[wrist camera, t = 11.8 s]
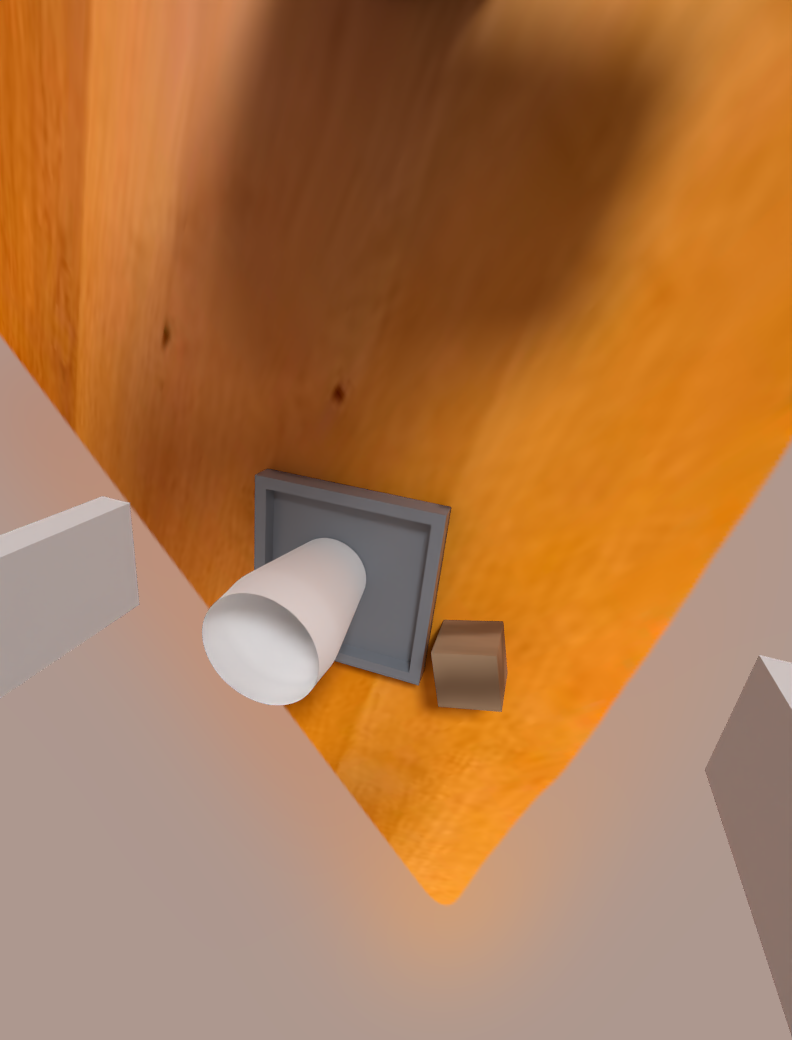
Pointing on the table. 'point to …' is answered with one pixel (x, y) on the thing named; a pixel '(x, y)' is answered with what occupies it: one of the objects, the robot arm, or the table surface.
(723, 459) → the table surface
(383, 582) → the tray
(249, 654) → the cup
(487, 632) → the walnut cube
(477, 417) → the table surface
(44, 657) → the robot arm
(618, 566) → the table surface
